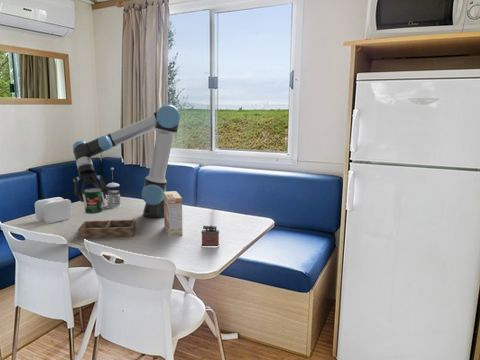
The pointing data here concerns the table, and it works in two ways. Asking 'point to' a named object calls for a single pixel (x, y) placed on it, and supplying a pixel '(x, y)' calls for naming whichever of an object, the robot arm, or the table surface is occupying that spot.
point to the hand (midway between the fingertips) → (95, 205)
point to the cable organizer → (53, 209)
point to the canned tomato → (93, 200)
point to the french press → (113, 196)
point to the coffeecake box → (173, 213)
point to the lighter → (210, 236)
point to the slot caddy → (107, 229)
